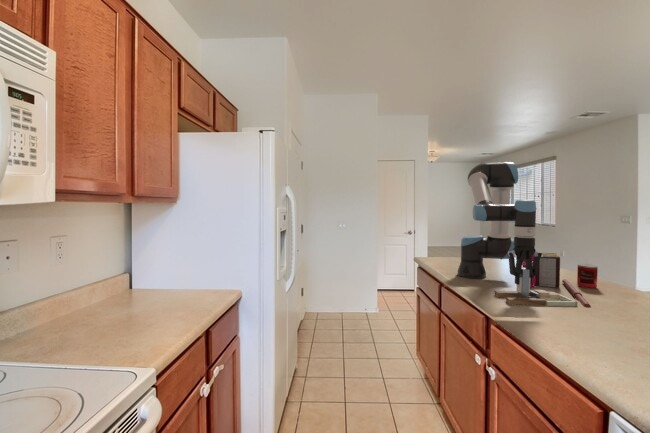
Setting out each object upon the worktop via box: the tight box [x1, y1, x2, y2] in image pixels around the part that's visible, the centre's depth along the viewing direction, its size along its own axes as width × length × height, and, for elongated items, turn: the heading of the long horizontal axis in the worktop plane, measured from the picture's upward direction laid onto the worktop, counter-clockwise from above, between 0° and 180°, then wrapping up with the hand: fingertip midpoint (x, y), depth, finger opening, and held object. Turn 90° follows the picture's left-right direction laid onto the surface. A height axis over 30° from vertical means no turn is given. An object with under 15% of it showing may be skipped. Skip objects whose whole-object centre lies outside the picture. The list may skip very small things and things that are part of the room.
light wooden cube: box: [548, 291, 561, 301], centre depth 133 cm, size 4×4×4 cm
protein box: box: [533, 251, 561, 289], centre depth 164 cm, size 10×15×16 cm
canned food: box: [576, 263, 599, 290], centre depth 158 cm, size 8×8×11 cm
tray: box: [546, 294, 578, 307], centre depth 133 cm, size 14×12×3 cm
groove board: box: [494, 290, 547, 307], centre depth 134 cm, size 14×14×3 cm
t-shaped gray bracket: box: [518, 268, 541, 298], centre depth 133 cm, size 6×7×13 cm
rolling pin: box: [561, 279, 592, 308], centre depth 145 cm, size 45×3×3 cm, turn 152°
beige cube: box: [533, 289, 550, 301], centre depth 133 cm, size 4×4×4 cm
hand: (523, 291), depth 133 cm, fingers closed on t-shaped gray bracket, 3 cm apart
